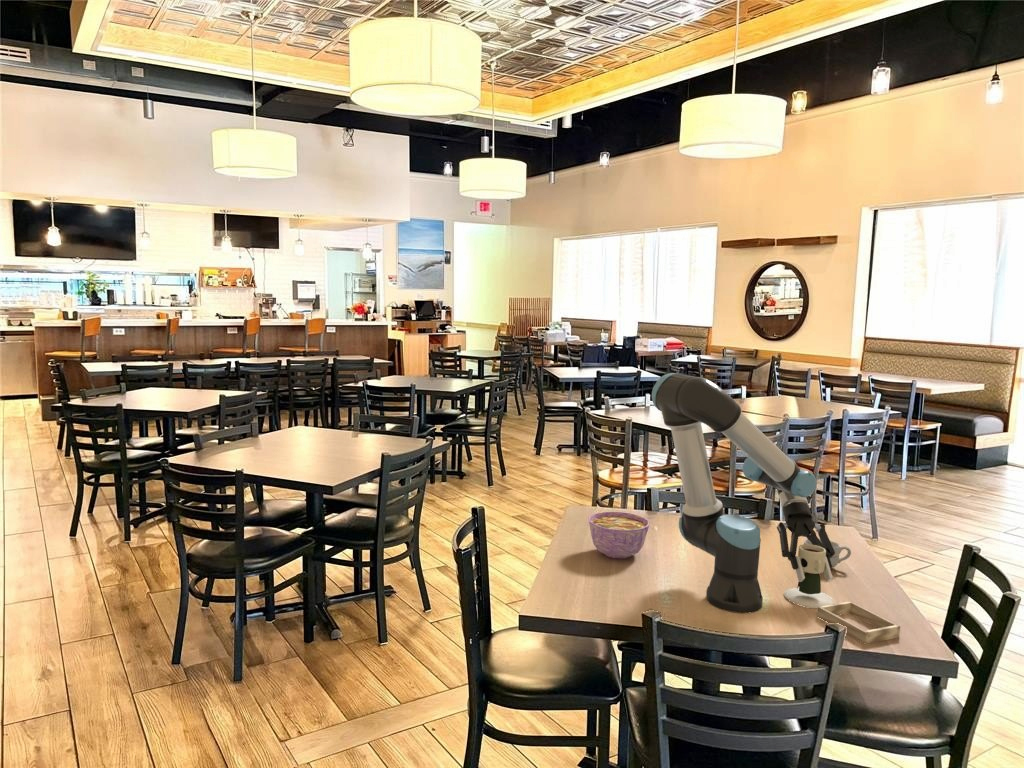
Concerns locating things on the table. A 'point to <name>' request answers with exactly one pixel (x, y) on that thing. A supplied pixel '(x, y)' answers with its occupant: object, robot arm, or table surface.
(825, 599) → the white saucer
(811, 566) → the character mug
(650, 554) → the table surface
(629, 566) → the table surface
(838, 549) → the teacup
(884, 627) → the wooden tray
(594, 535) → the bowl of food
